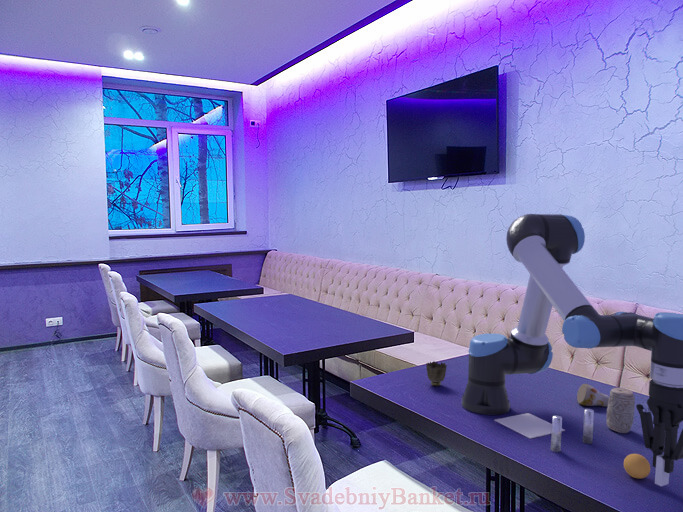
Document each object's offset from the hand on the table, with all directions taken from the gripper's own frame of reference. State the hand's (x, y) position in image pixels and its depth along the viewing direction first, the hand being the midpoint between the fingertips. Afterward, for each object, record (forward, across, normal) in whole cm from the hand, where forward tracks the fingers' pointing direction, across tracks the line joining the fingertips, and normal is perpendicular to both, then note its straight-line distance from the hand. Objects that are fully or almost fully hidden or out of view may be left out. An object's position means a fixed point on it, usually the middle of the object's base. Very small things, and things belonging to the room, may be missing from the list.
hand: (661, 483), depth 113 cm
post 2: (+2, -24, +6) cm, 25 cm away
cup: (+2, -80, -3) cm, 80 cm away
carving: (+2, -26, +22) cm, 34 cm away
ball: (-1, -6, 0) cm, 6 cm away
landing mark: (+2, -39, 0) cm, 39 cm away
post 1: (+2, -24, -6) cm, 25 cm away
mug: (+2, -43, +34) cm, 54 cm away
